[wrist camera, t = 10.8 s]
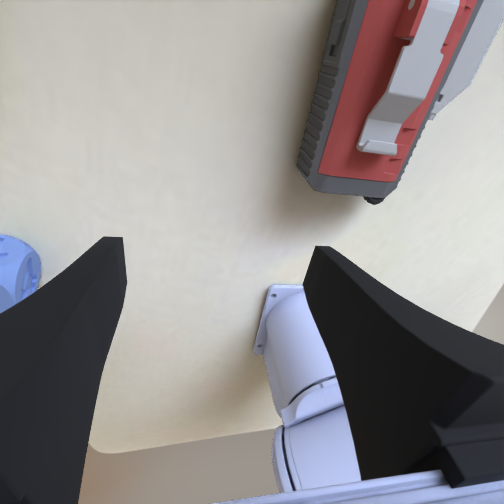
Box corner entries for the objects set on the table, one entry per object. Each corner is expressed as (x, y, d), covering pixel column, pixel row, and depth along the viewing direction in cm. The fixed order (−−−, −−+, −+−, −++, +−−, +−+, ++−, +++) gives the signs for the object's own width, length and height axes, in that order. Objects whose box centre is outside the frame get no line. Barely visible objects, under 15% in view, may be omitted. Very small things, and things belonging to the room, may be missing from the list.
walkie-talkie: (392, 197, 23) (600, -248, 12) (427, 226, 20) (763, -361, 9) (286, 187, 22) (417, -354, 10) (304, 217, 18) (534, -555, 7)
